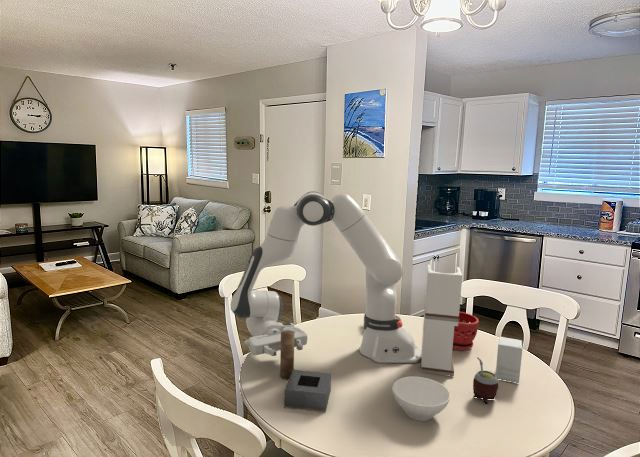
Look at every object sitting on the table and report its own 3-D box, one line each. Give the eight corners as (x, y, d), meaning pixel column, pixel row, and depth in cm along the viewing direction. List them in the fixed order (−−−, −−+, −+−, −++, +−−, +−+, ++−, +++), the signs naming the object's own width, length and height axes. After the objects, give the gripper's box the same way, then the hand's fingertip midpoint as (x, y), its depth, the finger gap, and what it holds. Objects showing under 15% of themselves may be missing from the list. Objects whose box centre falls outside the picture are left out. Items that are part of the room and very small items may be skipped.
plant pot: (452, 354, 162) (454, 323, 160) (435, 339, 174) (437, 311, 172) (483, 351, 165) (486, 321, 163) (464, 337, 177) (466, 309, 175)
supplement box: (519, 375, 147) (522, 340, 145) (518, 385, 141) (522, 348, 139) (495, 370, 150) (499, 335, 148) (494, 379, 144) (498, 343, 142)
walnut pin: (294, 373, 144) (295, 330, 141) (292, 380, 139) (292, 336, 137) (281, 372, 144) (282, 329, 142) (278, 378, 140) (279, 335, 137)
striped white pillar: (453, 376, 145) (462, 275, 139) (421, 372, 147) (428, 272, 141) (451, 361, 156) (459, 267, 150) (421, 357, 158) (427, 264, 152)
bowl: (412, 436, 113) (414, 411, 112) (380, 403, 127) (381, 381, 126) (460, 422, 119) (462, 399, 118) (424, 393, 134) (426, 372, 133)
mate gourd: (494, 394, 134) (498, 349, 132) (499, 408, 127) (504, 360, 124) (469, 391, 136) (473, 346, 133) (472, 405, 128) (477, 357, 126)
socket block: (330, 390, 134) (331, 373, 133) (325, 412, 122) (326, 394, 121) (292, 386, 136) (293, 369, 135) (284, 407, 124) (284, 389, 123)
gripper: (242, 331, 146) (257, 347, 134) (296, 322, 156) (315, 336, 144) (242, 349, 147) (257, 366, 135) (296, 338, 157) (314, 353, 145)
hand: (287, 350), depth 140 cm, fingers open, 8 cm apart
